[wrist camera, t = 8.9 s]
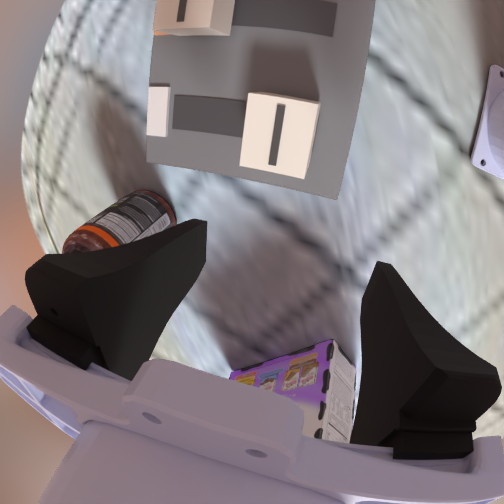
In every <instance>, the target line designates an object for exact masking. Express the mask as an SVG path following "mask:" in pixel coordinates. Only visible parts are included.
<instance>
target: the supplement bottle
mask: <svg viewBox="0 0 504 504" xmlns="http://www.w3.org/2000/svg"><path fill="white" fill-rule="evenodd" d="M175 225H176V220H175V216H174V214H173V211H172V209H171V207H170V206H169V204H168V203H167V202H166V201H165V200H164V199H163V198H162V197H160V196H159V195H157V194H156V193H153V192H151V191H147V190H138V191H135V192H132V193H131V194H129V195H127V196H125V197H124V198H122V199H120V200H119V201H117V202H116V203H114V204H113V205H111V206H110V207H108V208H107V209H105V210H104V211H102V212H101V213H99V214H98V215H96V216H95V217H93V218H92V219H91V220H89V221H88V222H86V223H85V224H84V225H82V226H81V227H79V228H78V229H76V230H75V231H74V232H73V233H72V234H70V235H69V237H68V238H67V239H66V241H65V243H64V245H63V250H62V254H69V253H80V252H88V251H95V250H100V249H105V248H110V247H115V246H119V245H123V244H126V243H130V242H133V241H136V240H139V239H142V238H144V237H147V236H150V235H153V234H155V233H158V232H160V231H163V230H165V229H168V228H170V227H173V226H175Z"/></svg>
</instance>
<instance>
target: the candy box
mask: <svg viewBox="0 0 504 504" xmlns="http://www.w3.org/2000/svg"><path fill="white" fill-rule="evenodd" d="M229 379H230V380H233V381H237V382H240V383H244V384H247V385H251V386H255V387H258V388H262V389H266V390H270V391H273V392H275V393H278V394H280V395H283V396H285V397H288V398H290V399H291V400H292V401H293V402H294V403H295V404H297V405H298V406H299V407H300V408H301V409H302V410H303V411H304V425H303V430H302V434H303V435H305V436H308V437H311V438H317V439H323V440H329V441H335V442H342V443H349V442H350V438H351V434H352V428H353V418H354V403H355V386H356V368H355V367H354V366H353V364H352V363H351V362H350V360H349V359H348V358H347V356H346V355H345V354H344V352H343V351H342V349H341V348H340V347H339V345H338V344H337V343H336V342H335V340H328V341H325V342H322V343H319V344H317V345H314V346H311V347H309V348H306V349H303V350H300V351H297V352H294V353H291V354H289V355H285V356H282V357H279V358H276V359H273V360H270V361H267V362H264V363H260V364H257V365H254V366H251V367H248V368H244V369H240V370H237V371H233V372H231V374H230V377H229Z"/></svg>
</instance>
